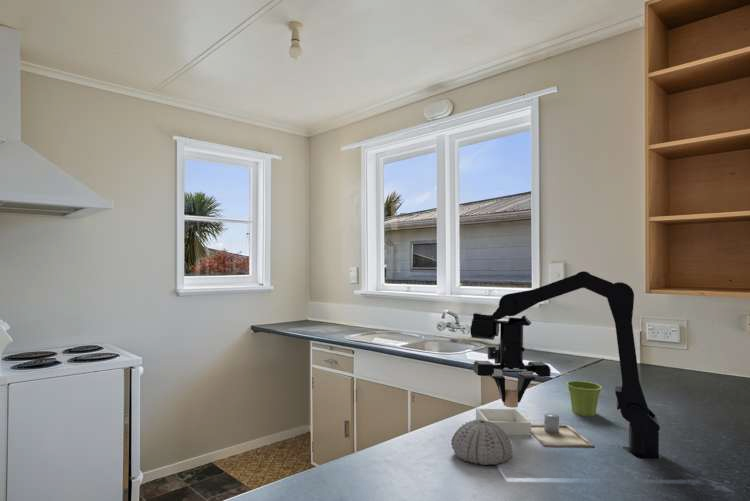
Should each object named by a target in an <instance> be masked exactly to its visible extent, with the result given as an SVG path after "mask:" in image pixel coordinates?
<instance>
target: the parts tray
mask: <svg viewBox="0 0 750 501" xmlns="http://www.w3.org/2000/svg"><path fill="white" fill-rule="evenodd" d="M531 436H533V437H534V439H536V440H537V441H538V443H539V444H541V445H542V446H543V447H546V448H548V447H550V448H551V447H557V448H559V447H561V448H563V447H565V448H569V447H570V448H595V445H594V444H593V442H591V441H590V440H588V439H587V438H586V437H584V436H583V435H582V434H581V433H579V432H578V431H577V430H575V429H574V428H573V427H571V425H569V424H559V433H557V434H552V433H548V432H545V431H544V423H543V424H536V423H535V424H534V423H531Z"/></svg>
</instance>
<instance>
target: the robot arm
mask: <svg viewBox="0 0 750 501" xmlns="http://www.w3.org/2000/svg"><path fill="white" fill-rule="evenodd" d="M579 289H586V290H588V291H591V292H593V293H595V294H597V295H600V296H602V297H604V298H606V300H607V302H608V306H609V309H610V312H611V314H612V319H613V320H614V326H615V333H616V341H617V342H616V343H617V350H618V356H619V359H618V360H619V366H620V367H619V368H620V374H621V383H620V386H619V385H615V386H614V392H615V397H616V410H620V413H621V416H622V418H623V419H624V420H625V421H627V422H628V428H629V429H628V446H622V449H623V450H625V451H627V452H628V453H630V454H631V455H633V456H634V457H635V458H636V459H641V460H643V459H645V460H646V459H648V460H651V459H653V460H660V459H661V460H665V459H666V457H664V456H663V455H661V454H660V452H659V451H660V449H659V447H660V429H661V427H660V423H659V420H658V417H657V415H656V414H655V413H654V412H653V411H652V410H651V409H650V408H649V406H648V403H647V399H646V397H645V393H644V391H643V387H642V385H641V381H640V376H639V368H638V360H637V353H636V343H635V336H634V328H633V314H634V313H633V312H634V301H635V294H634V289H632V287H631V286H630V285H628V284H627V283H625V282H623V281H622V282H621V281H616V282H611V281H609V280H606V279H604V278H602V277H598V276H597V275H596V276H595V275H593V274H591V273H590V272H589V271H578V272H577V273H575V274H573V275H571V276H568V277H564V278H561V279H559V280H556V281H553V282H551V283H548V284H545V285H542V286H539V287H537V288H533V289H529V290H521V291H517V292H511V293H507V294H504V295H502V296H501V297H500V300H499V302H498V308H496V310H495V311H494V312H493V313H492V314H487V313H481V312H474V313H473V315H472V316H473V317H472V320H471V325H470V326H469V327H470V328H469V329H470V330H469V331H470V337H471V338H472V339H478V340H479V339H480V340H488V341H489V340H490V341H494V340H495V338H496V337H499V343H498V348H497V347H496V346H488V347H487V360H475V361H474V362H473V363H472V364H473V365H472V371H473V372H474V373H475V374H476V375H477V376H480V377H490V378H491V379H492V380H493V381H494V382H495V384H496V387H497V390H498V392H499V396H500V399H501V401H502V403H504V402H505V388H506V377H505V376H503V373H516V375H517V388H516V389H517V390H518V404H520V403H521V400H522V399H523V396H524V395H525V392H526V390H527V388H528V387H529V385H530V384H531V382H532V381H535V380H536V377H535V376H534V374H535V375H537V377H538V378H539V377H542V378H549V377H551V376H552V375H551V372H552V371H551V368H550V366H549V364H546V363H544V362H543V361H528V363H527V364H525V363H524V352H525V347H524V327H525V326H526V327H527V326H530V325H532V321H530V320H529V319H528V318H527V316H526V315H523V316H521V317H520V318H518V317H515V316H517V315H518V314H521V313H522V312H524V311H527V310H528V309H530V308H532V307H533V306H535V305H537V304H539V303H543V302H545V301H549V300H550V299H554V298H556V297H560V296H562V295H565V294H569V293H571V292H574V291H577V290H579ZM506 317H509V318H508V320H501V319H503V318H506ZM489 360H494V363H492V362H490V361H489Z"/></svg>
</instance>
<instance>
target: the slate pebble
mask: <svg viewBox="0 0 750 501" xmlns="http://www.w3.org/2000/svg"><path fill="white" fill-rule="evenodd" d="M543 416H544V418H543V420H544V423H543V424H544V431H545V432H548V433H552V434H557V433H559V425H560V415H559V414H556V413H551V412H550V413H549V412H547V413H544V415H543Z"/></svg>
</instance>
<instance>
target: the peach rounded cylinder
mask: <svg viewBox="0 0 750 501" xmlns="http://www.w3.org/2000/svg"><path fill="white" fill-rule="evenodd" d="M503 406H505V407H507V408H518V407H519V403H518V390H517V388H513V387H505V402H503Z"/></svg>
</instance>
